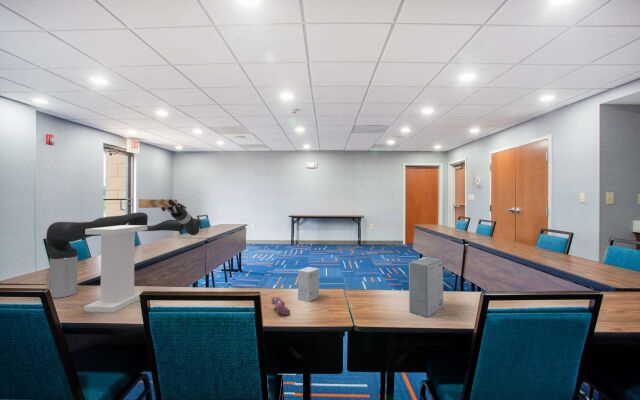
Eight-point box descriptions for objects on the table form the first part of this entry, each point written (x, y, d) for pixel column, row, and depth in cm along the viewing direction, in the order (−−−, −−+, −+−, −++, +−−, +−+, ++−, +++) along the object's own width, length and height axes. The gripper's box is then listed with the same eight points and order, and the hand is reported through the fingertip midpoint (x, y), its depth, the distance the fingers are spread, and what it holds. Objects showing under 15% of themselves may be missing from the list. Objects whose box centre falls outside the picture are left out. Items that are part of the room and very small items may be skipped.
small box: (308, 294, 126) (308, 266, 126) (319, 297, 122) (319, 268, 123) (297, 299, 119) (297, 270, 119) (308, 302, 116) (309, 272, 116)
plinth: (121, 295, 123) (122, 225, 123) (146, 296, 122) (147, 225, 122) (84, 311, 105) (85, 229, 105) (113, 312, 104) (114, 229, 104)
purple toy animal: (275, 311, 110) (267, 296, 109) (285, 304, 112) (277, 290, 111) (281, 321, 101) (272, 305, 100) (291, 314, 103) (283, 298, 102)
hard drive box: (425, 302, 117) (425, 256, 117) (443, 307, 112) (443, 259, 112) (408, 312, 106) (408, 261, 106) (427, 318, 101) (427, 265, 101)
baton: (170, 206, 152) (170, 199, 152) (177, 206, 151) (177, 199, 151) (138, 207, 128) (138, 199, 128) (146, 207, 127) (146, 199, 127)
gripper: (171, 209, 161) (154, 194, 146) (194, 209, 160) (180, 194, 145) (167, 220, 157) (150, 206, 143) (191, 221, 156) (175, 206, 142)
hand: (165, 200), depth 144 cm, fingers closed on baton, 4 cm apart
